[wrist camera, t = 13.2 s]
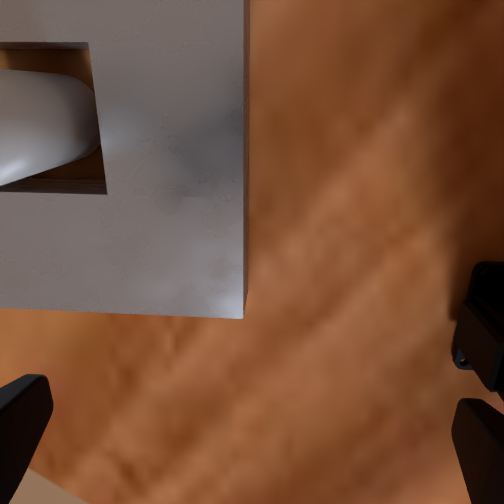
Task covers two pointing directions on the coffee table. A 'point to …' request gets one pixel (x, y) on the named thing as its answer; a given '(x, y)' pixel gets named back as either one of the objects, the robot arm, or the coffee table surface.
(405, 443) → the coffee table surface
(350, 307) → the coffee table surface
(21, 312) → the coffee table surface
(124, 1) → the housing
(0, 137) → the plug
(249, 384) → the coffee table surface
